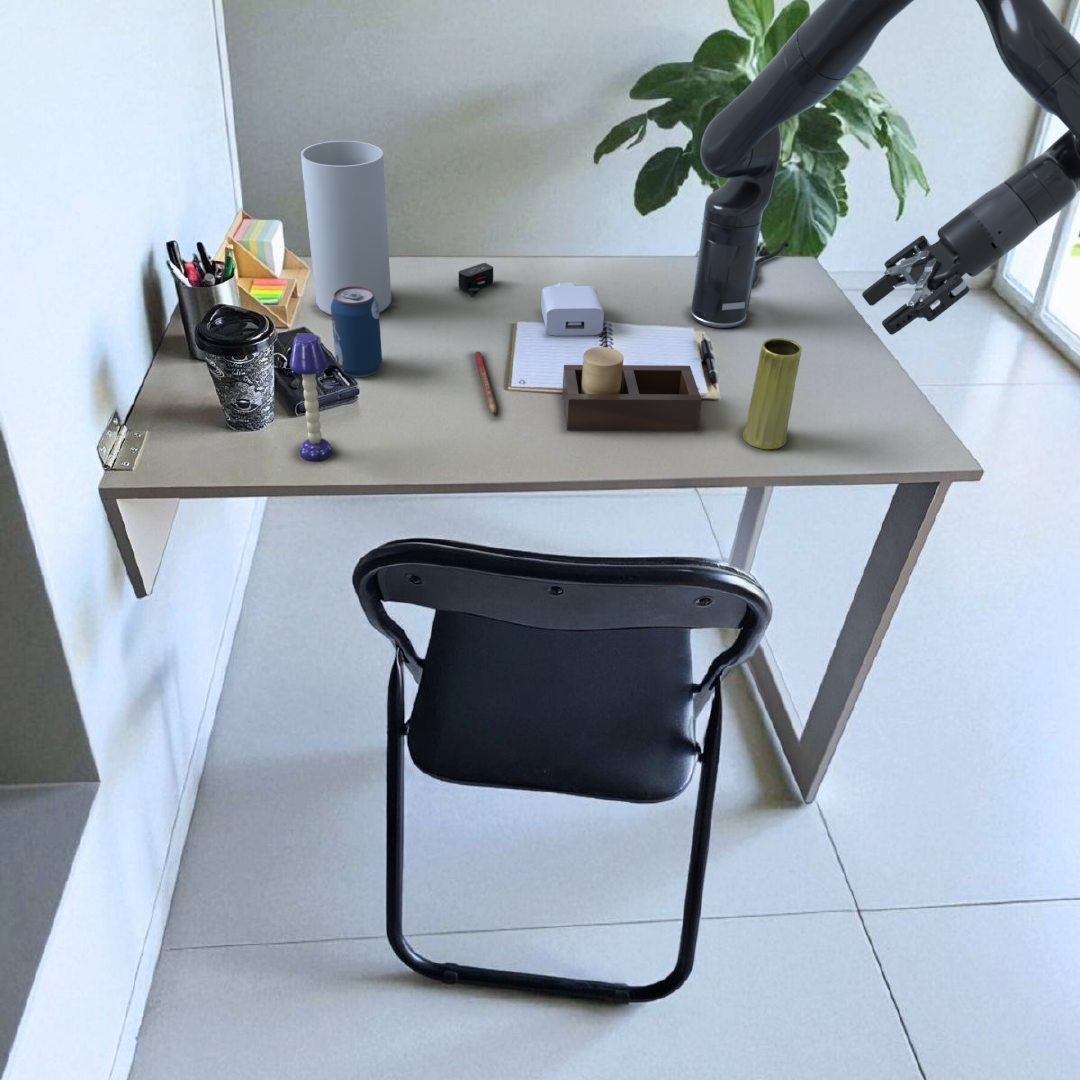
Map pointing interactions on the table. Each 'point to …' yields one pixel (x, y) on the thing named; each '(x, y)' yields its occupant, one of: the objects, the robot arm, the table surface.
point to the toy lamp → (310, 392)
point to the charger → (571, 310)
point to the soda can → (356, 331)
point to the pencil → (485, 382)
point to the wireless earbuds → (475, 278)
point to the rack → (635, 400)
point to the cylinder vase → (347, 219)
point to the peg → (602, 371)
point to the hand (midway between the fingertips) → (875, 314)
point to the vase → (772, 394)
